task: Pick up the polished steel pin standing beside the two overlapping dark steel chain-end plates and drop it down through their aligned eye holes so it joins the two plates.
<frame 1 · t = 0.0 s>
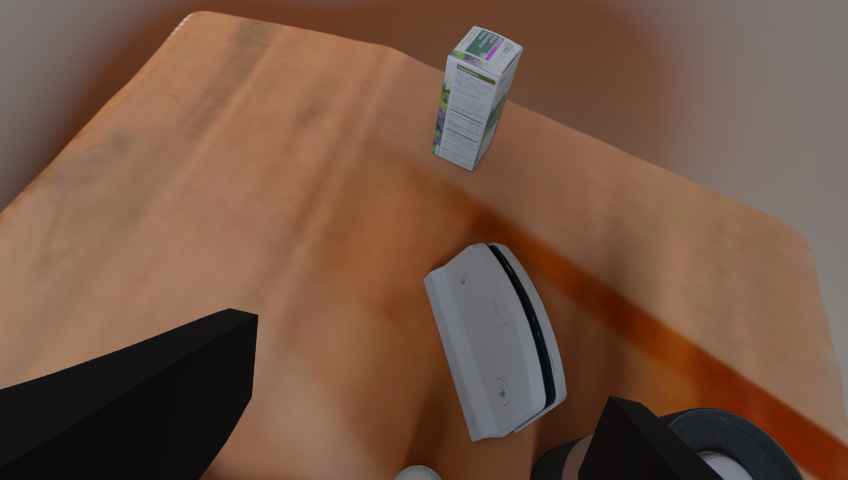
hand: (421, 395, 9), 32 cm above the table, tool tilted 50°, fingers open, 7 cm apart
syrup box: (462, 150, 55), on the table
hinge: (482, 344, 43), on the table
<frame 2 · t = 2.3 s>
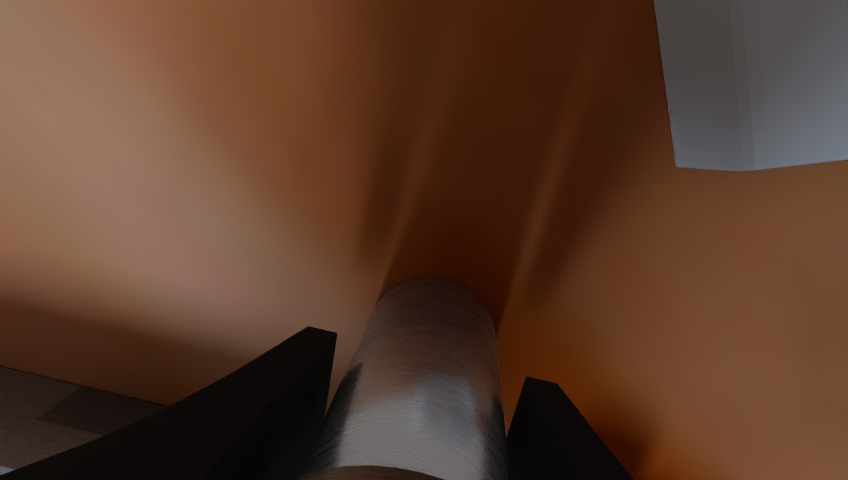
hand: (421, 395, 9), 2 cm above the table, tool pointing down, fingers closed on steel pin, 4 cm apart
steel pin: (432, 334, 11), on the table, touching gripper
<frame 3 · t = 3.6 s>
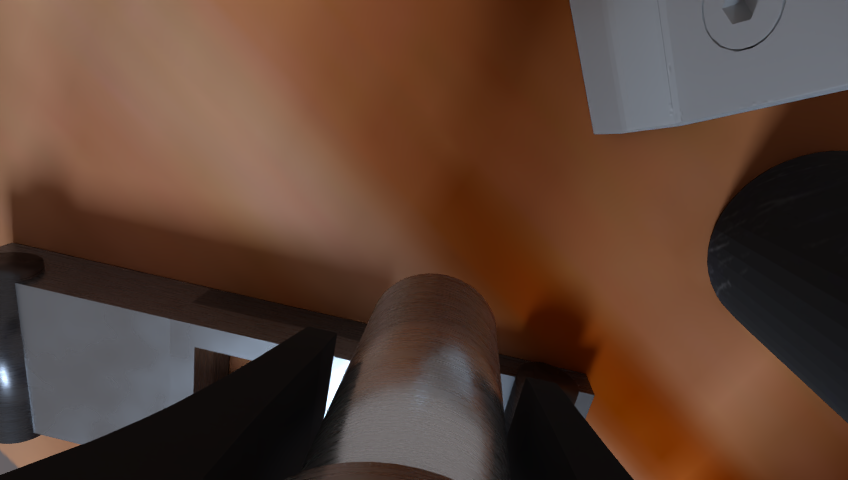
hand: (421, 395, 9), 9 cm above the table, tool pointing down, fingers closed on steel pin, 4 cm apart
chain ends: (284, 376, 20), on the table
steel pin: (432, 331, 11), point 7 cm above the table, touching gripper
travel mug: (805, 245, 16), on the table
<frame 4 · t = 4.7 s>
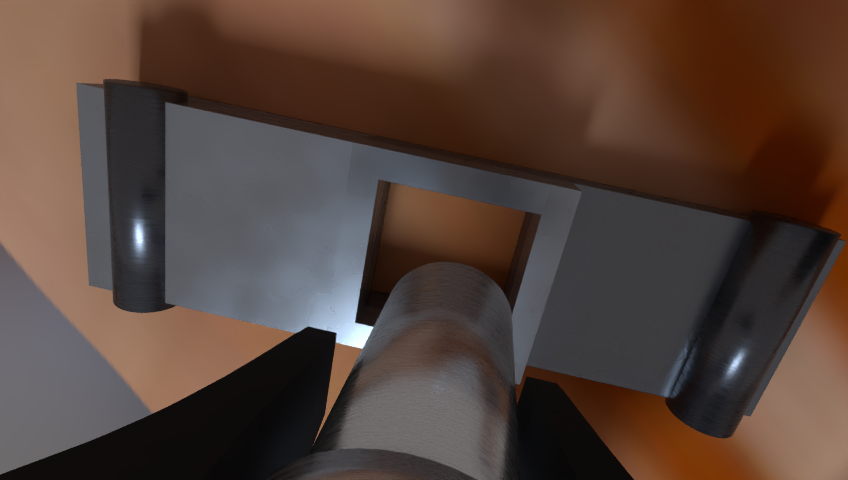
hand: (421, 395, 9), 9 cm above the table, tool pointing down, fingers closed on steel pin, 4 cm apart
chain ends: (446, 245, 18), on the table
steel pin: (447, 319, 11), point 7 cm above the table, touching gripper
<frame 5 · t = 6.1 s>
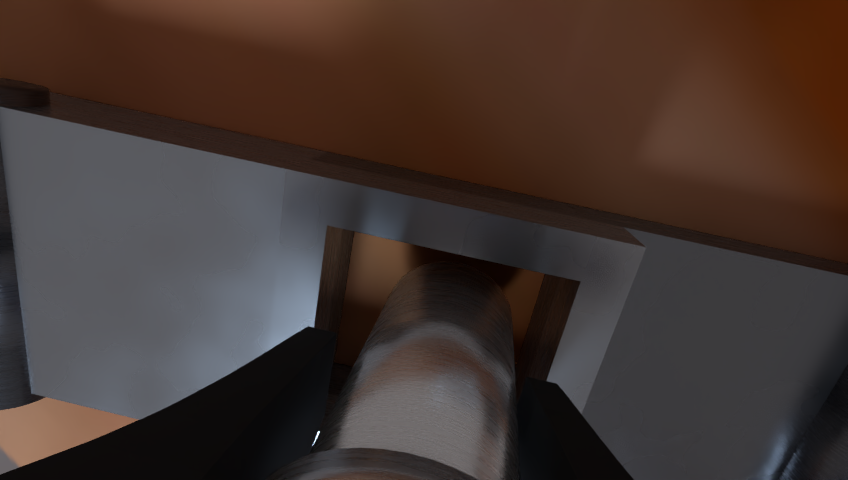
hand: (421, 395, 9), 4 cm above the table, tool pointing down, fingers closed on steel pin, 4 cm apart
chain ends: (436, 305, 13), on the table
steel pin: (447, 319, 11), point 1 cm above the table, touching gripper
when the fingers open (4 cm above the table, at t = 7.0 s): steel pin drops 1 cm, resting in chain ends.
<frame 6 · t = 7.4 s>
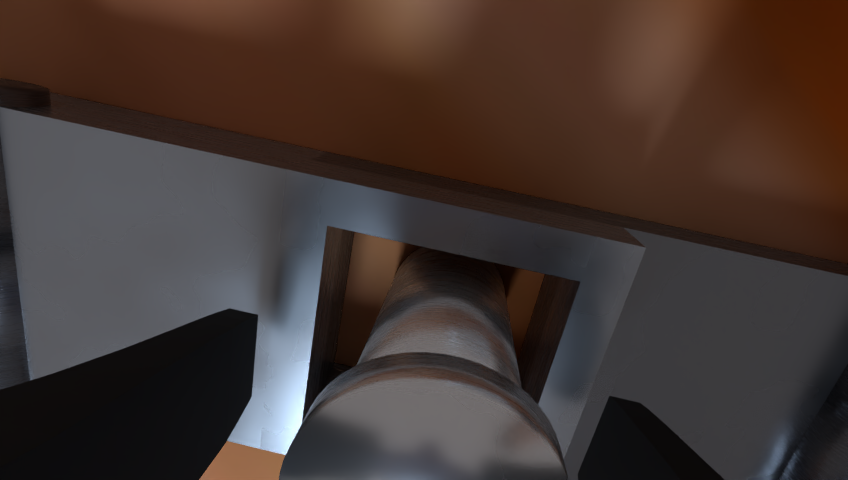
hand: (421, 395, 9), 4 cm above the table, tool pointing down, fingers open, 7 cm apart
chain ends: (436, 305, 13), on the table
steel pin: (447, 294, 13), resting in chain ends
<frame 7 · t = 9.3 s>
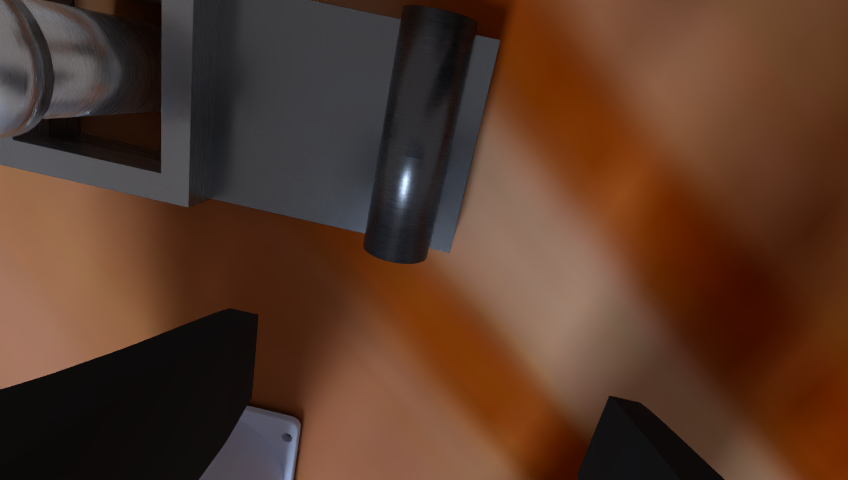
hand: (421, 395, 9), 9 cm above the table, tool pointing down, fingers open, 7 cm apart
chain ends: (142, 78, 17), on the table
steel pin: (149, 67, 17), resting in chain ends
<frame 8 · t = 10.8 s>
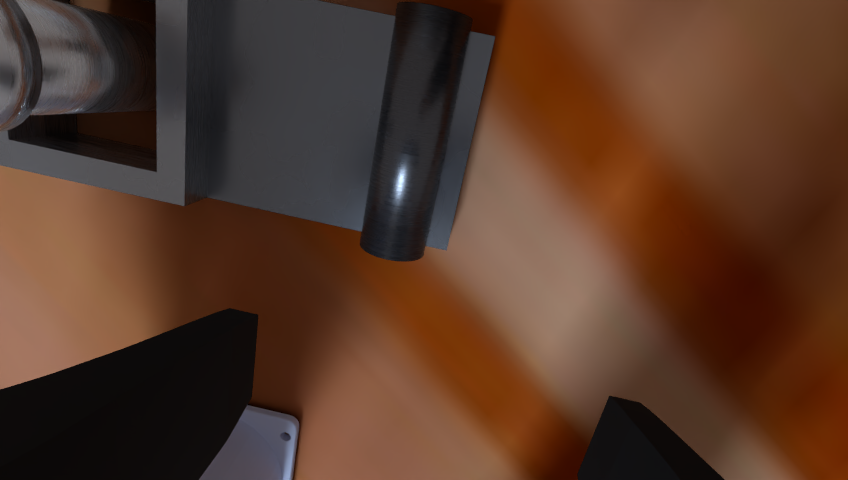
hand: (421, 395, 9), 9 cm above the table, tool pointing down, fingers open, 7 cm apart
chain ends: (138, 77, 17), on the table
steel pin: (144, 67, 17), resting in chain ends
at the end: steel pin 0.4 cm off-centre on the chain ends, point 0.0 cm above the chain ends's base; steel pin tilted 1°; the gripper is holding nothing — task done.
